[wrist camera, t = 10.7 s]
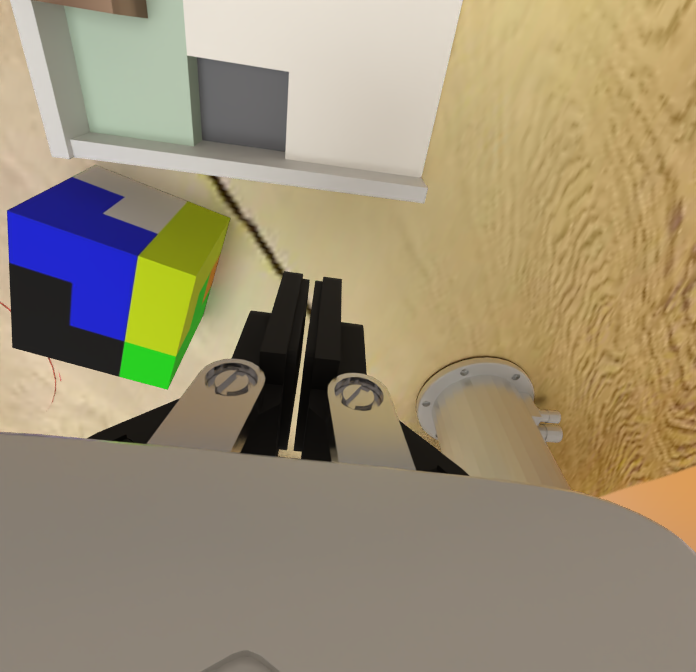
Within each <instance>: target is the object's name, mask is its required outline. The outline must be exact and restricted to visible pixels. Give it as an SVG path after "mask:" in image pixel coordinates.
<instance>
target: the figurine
mask: <svg viewBox="0 0 696 672" xmlns="http://www.w3.org/2000/svg"><path fill="white" fill-rule="evenodd" d="M0 304H2V305H3V306H4V307H6V308H7V309H8V310H9V311H10V312H11V310H10V309H9V308H8V307H7V306H5V305H4V304H3V303H1V302H0ZM48 359H49V361H50V358H49V357H48ZM50 363H51V361H50ZM51 366H52V368H53V365H52V363H51ZM53 373H54V369H53ZM59 376H60V374H59ZM54 378H55V373H54ZM60 381H61V378H60ZM55 392H56V378H55ZM54 395H55V394H54ZM53 399H54V397H53ZM52 402H53V401H52ZM46 412H47V411H46Z"/></svg>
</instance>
